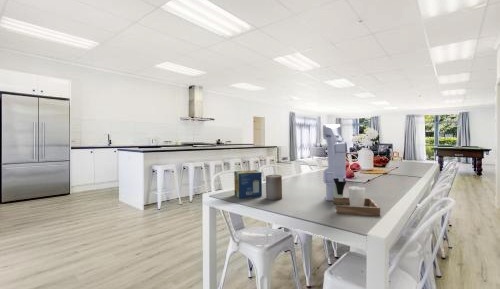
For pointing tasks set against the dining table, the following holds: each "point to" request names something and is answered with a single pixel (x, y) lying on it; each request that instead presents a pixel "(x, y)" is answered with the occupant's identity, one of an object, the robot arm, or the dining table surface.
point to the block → (336, 193)
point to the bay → (357, 207)
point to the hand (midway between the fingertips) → (339, 193)
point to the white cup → (357, 196)
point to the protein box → (248, 183)
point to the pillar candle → (274, 187)
